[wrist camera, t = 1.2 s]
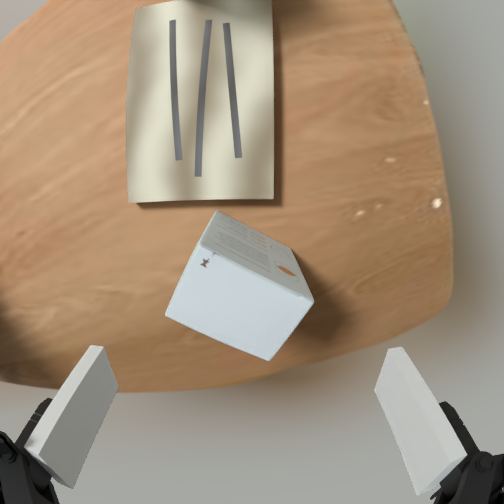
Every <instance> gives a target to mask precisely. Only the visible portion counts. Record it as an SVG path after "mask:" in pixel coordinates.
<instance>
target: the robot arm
mask: <svg viewBox="0 0 504 504" xmlns="http://www.w3.org/2000/svg"><path fill="white" fill-rule="evenodd" d="M118 388H119V387H118V384H117V382H116V379H115V377H114V374H113V371H112V369H111V366H110V363H109V360H108V358H107V355H106V352H105V349H104V347H101V346H95V345H91V346H90V347H89V348H88V350H87V351H86V352H85V354H84V355H83V357H82V358H81V359H80V361H79V362H78V364H77V365H76V366H75V368H74V369H73V371H72V372H71V374H70V375H69V376H68V378H67V379H66V381H65V382H64V384H63V385H62V387H61V388H60V390H59V391H58V393H57V394H56V396H55V397H54V399H50V398H47V399H46V400H44V401H43V402H42V403H41V404H40V405H39V406H38V408H37V409H36V411H35V414H33V415H32V417H31V420H29V421H28V423H27V425H26V426H25V428H24V429H23V431H22V433H21V434H20V436H19V438H18V439H17V441H16V442H15V443H13V442H12V440H11V439H10V438H9V437H8V436H7V434H6V433H4V432H2V431H0V504H59V501H58V498H57V495H56V493H55V490H54V487H53V484H52V483H51V481H50V480H51V477H53V478H54V479H55V480H56V481H57V482H58V483H60V484H62V485H65V486H67V487H69V488H71V489H73V488H74V486H75V483H76V481H77V478H78V476H79V474H80V471H81V469H82V466H83V464H84V462H85V459H86V457H87V455H88V452H89V450H90V448H91V446H92V444H93V441H94V439H95V437H96V434H97V432H98V430H99V428H100V426H101V424H102V422H103V419H104V417H105V415H106V413H107V411H108V409H109V407H110V405H111V403H112V401H113V398H114V397H115V395H116V393H117V391H118ZM374 391H375V393H376V395H377V397H378V399H379V402H380V404H381V406H382V409H383V411H384V413H385V416H386V418H387V420H388V423H389V425H390V428H391V430H392V432H393V435H394V437H395V440H396V442H397V445H398V447H399V449H400V452H401V455H402V457H403V460H404V462H405V465H406V468H407V470H408V473H409V476H410V478H411V481H412V484H413V486H414V489H415V492H416V495H419V494H422V493H425V492H427V491H429V490H432V489H433V488H434V487H435V486H437V485H438V484H439V483H440V485H441V488H440V489H439V490H438V491H437V492H435V493H434V494H433V495H432V496H431V498H430V499H431V500H432V499H433V498H434V497H436V499H435V501H434V504H504V491H503V490H504V489H503V490H502V488H504V454H500V455H495V456H492V455H491V454H490V453H488V452H483V451H480V450H479V449H478V448H477V446H476V444H475V442H474V441H473V439H472V437H471V435H470V434H469V432H468V430H467V429H466V427H465V426H464V425H463V422H462V420H461V419H460V418H459V416H458V414H457V412H456V411H455V409H454V408H453V407H452V406H451V405H450V404H448V403H447V402H442V403H439V404H438V402H437V401H436V399H435V397H434V396H433V394H432V392H431V391H430V389H429V388H428V386H427V384H426V383H425V381H424V380H423V378H422V376H421V375H420V373H419V372H418V370H417V369H416V367H415V366H414V364H413V363H412V361H411V360H410V358H409V356H408V355H407V353H406V352H405V351H404V349H403V348H402V347H397V348H391V349H388V352H387V355H386V358H385V361H384V364H383V367H382V369H381V372H380V375H379V378H378V381H377V384H376V386H375V389H374Z"/></svg>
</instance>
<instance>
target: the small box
mask: <svg viewBox="0 0 504 504" xmlns="http://www.w3.org/2000/svg"><path fill="white" fill-rule="evenodd" d="M313 304H314V299H313V296H312V294H311V292H310V289H309V287H308V285H307V283H306V280H305V278H304V276H303V274H302V272H301V270H300V267H299V265H298V263H297V261H296V259H295V257H294V254H293V252H292V250H291V248H289V247H287V246H285V245H283V244H281V243H279V242H277V241H275V240H274V239H272V238H270V237H268V236H266V235H264V234H262V233H260V232H258V231H256V230H255V229H253V228H251V227H249V226H247V225H245V224H243V223H241V222H239V221H237V220H235V219H234V218H232V217H230V216H228V215H226V214H224V213H222V212H220V211H219V210H216V211H215V213H214V215H213V216H212V218H211V220H210V222H209V223H208V225H207V227H206V229H205V231H204V232H203V234H202V236H201V238H200V240H199V242H198V244H197V245H196V247H195V249H194V251H193V253H192V255H191V257H190V259H189V261H188V263H187V265H186V267H185V270H184V272H183V274H182V276H181V278H180V280H179V282H178V285H177V287H176V289H175V291H174V294H173V296H172V298H171V301H170V303H169V306H168V308H167V310H166V313H165V316H166V317H168V318H170V319H172V320H174V321H176V322H178V323H181V324H183V325H185V326H187V327H189V328H191V329H193V330H196V331H198V332H200V333H202V334H204V335H207V336H209V337H211V338H213V339H216V340H218V341H220V342H222V343H225V344H227V345H230V346H232V347H234V348H237V349H239V350H242V351H244V352H246V353H249V354H251V355H254V356H256V357H259V358H261V359H264V360H266V361H270V360H271V359H272V358H273V356H274V355H275V354H276V353H277V351H278V350H279V349H280V348H281V346H282V345H283V344H284V342H285V341H286V340H287V339H288V337H289V336H290V335H291V333H292V332H293V331H294V329H295V328H296V327H297V326H298V324H299V323H300V322H301V320H302V319H303V317H304V316H305V315H306V313H307V312H308V311H309V309H310V308H311V307H312V305H313Z"/></svg>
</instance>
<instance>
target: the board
mask: <svg viewBox="0 0 504 504" xmlns="http://www.w3.org/2000/svg"><path fill="white" fill-rule="evenodd" d="M126 162H127V183H128V198H129V203H138V202H157V201H179V200H213V199H274V67H273V20H272V0H177V1H171V2H165V3H159V4H154V5H149V6H145V7H140V8H136V9H135V14H134V20H133V27H132V35H131V44H130V53H129V64H128V78H127V98H126Z"/></svg>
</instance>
